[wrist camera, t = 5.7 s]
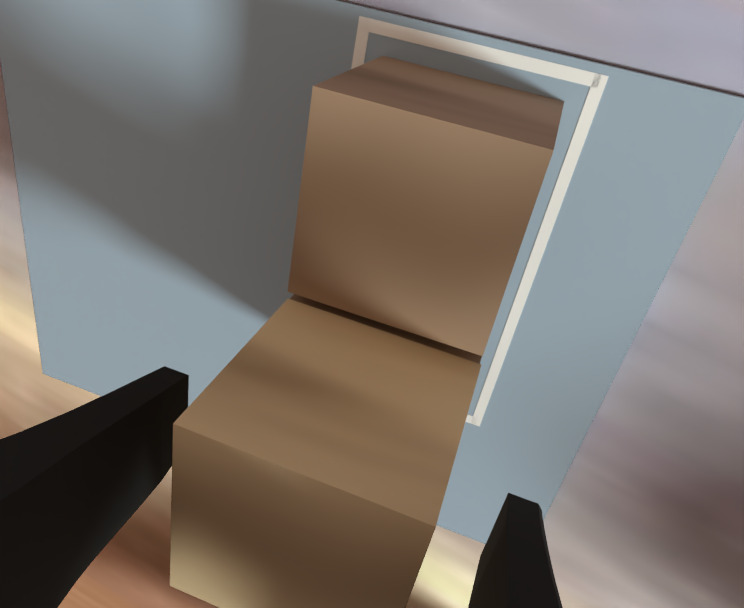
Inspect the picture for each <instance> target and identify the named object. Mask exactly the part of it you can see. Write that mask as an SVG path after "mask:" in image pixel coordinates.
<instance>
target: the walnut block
mask: <svg viewBox="0 0 744 608" xmlns="http://www.w3.org/2000/svg"><path fill="white" fill-rule="evenodd" d="M563 105H564V101H561V100H557V99H553V98H549V97H545V96H541V95H537V94H533V93H529V92H525V91H521V90H517V89H513V88H509V87H505V86H501V85H497V84H493V83H489V82H485V81H481V80H477V79H473V78H469V77H465V76H462V75H458V74H454V73H450V72H446V71H442V70H438V69H434V68H430V67H426V66H422V65H418V64H414V63H410V62H406V61H402V60H398V59H394V58H390V57H386V56H381V57H379V58H376V59H374V60H372V61H369V62H367V63H365V64H363V65H360V66H358V67H356V68H353V69H351V70H349V71H346V72H344V73H342V74H339V75H337V76H335V77H332V78H330V79H328V80H325V81H323V82H321V83H318V84H316V85H314V86H313V89H312V97H311V105H310V113H309V121H308V129H307V137H306V145H305V153H304V162H303V170H302V178H301V186H300V194H299V202H298V210H297V218H296V226H295V234H294V242H293V251H292V259H291V267H290V275H289V283H288V291H287V292H290V293H293V294H296V295H299V296H302V297H305V298H308V299H311V300H314V301H317V302H320V303H323V304H326V305H329V306H332V307H335V308H338V309H341V310H344V311H347V312H350V313H353V314H356V315H360V316H363V317H366V318H369V319H372V320H375V321H378V322H381V323H384V324H387V325H390V326H393V327H396V328H399V329H402V330H405V331H408V332H411V333H414V334H417V335H420V336H423V337H426V338H429V339H432V340H435V341H438V342H441V343H444V344H447V345H450V346H453V347H456V348H459V349H462V350H465V351H468V352H471V353H474V354H477V355H480V356H483V354H484V351H485V348H486V345H487V342H488V339H489V336H490V334H491V331H492V328H493V325H494V322H495V319H496V316H497V313H498V310H499V307H500V304H501V302H502V299H503V296H504V293H505V290H506V287H507V284H508V281H509V278H510V275H511V273H512V270H513V267H514V264H515V261H516V258H517V255H518V252H519V249H520V246H521V244H522V241H523V238H524V235H525V232H526V229H527V226H528V223H529V220H530V217H531V214H532V212H533V209H534V206H535V203H536V200H537V197H538V194H539V191H540V188H541V185H542V183H543V180H544V177H545V174H546V171H547V168H548V165H549V162H550V159H551V156H552V154H553V151H554V146H555V142H556V137H557V133H558V128H559V124H560V119H561V114H562V110H563Z"/></svg>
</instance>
